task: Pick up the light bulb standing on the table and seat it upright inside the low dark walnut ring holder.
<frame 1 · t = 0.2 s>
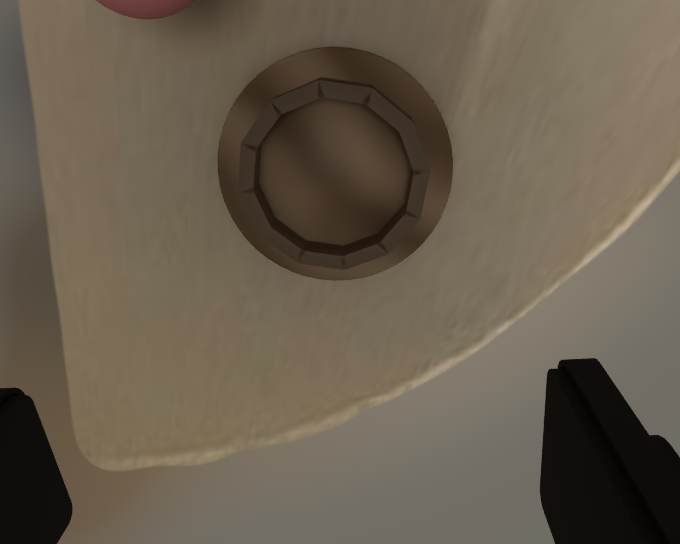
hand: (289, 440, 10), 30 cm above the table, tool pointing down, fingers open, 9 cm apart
holder: (335, 170, 39), on the table
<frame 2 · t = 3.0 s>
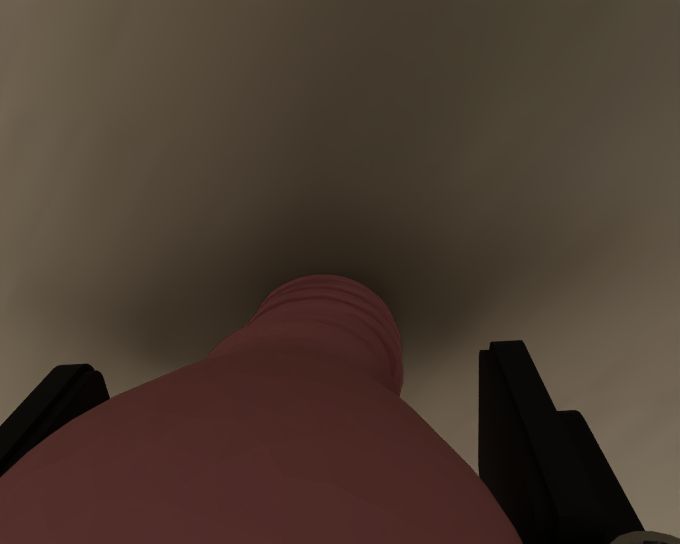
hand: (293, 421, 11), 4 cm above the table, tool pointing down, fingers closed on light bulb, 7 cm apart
light bulb: (314, 318, 14), on the table, touching gripper
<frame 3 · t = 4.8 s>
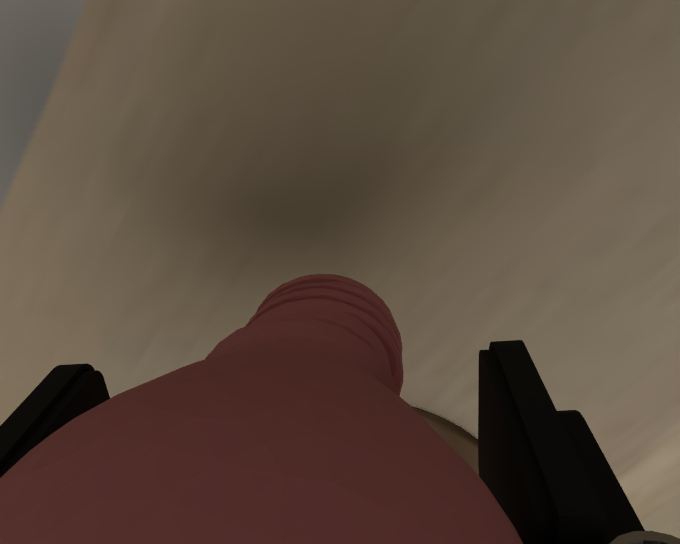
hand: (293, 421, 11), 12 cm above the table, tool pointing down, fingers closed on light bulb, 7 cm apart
light bulb: (314, 318, 14), point 8 cm above the table, touching gripper
holder: (359, 532, 28), on the table
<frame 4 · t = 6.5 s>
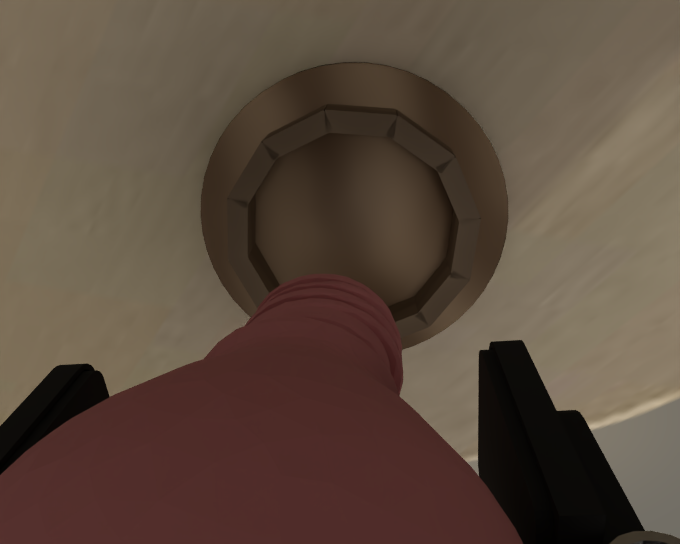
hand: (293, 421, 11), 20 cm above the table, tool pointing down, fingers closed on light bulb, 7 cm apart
light bulb: (314, 318, 14), point 16 cm above the table, touching gripper
holder: (352, 220, 30), on the table
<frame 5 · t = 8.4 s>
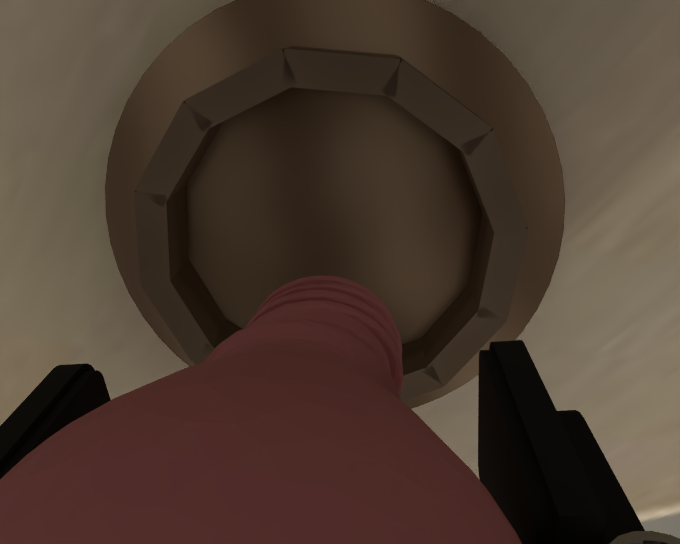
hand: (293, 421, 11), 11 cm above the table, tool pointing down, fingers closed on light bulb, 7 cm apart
light bulb: (314, 319, 14), point 7 cm above the table, touching gripper
holder: (332, 226, 21), on the table
when the fingers open (6 cm above the table, at t = 9.9 s): light bulb drops 1 cm, resting on holder.
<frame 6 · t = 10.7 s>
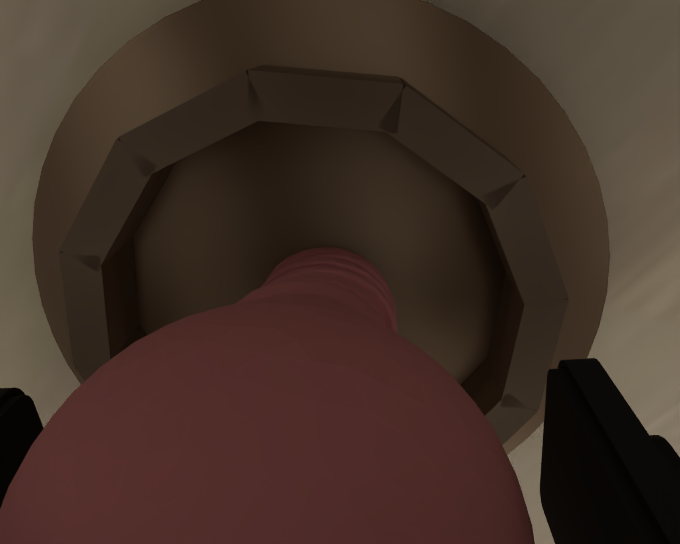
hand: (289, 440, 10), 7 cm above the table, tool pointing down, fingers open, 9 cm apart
light bulb: (316, 289, 16), point 1 cm above the table, touching holder
holder: (318, 284, 17), on the table
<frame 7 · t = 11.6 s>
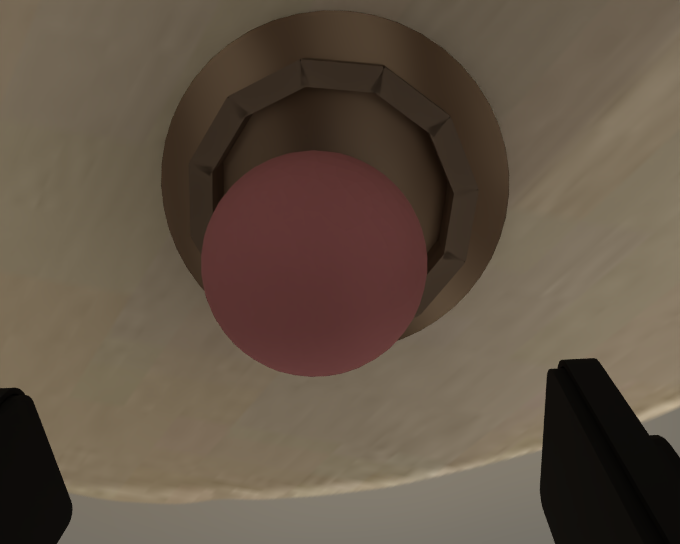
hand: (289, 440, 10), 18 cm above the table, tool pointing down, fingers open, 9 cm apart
light bulb: (333, 195, 26), point 1 cm above the table, touching holder
holder: (334, 195, 27), on the table
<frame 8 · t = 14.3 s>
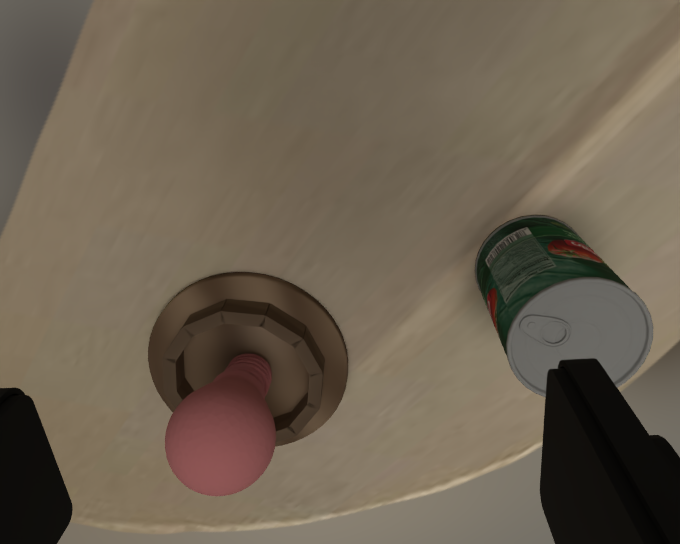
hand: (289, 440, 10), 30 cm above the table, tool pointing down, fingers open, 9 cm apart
light bulb: (248, 365, 45), point 1 cm above the table, touching holder
canned tomato: (528, 264, 41), on the table
holder: (249, 361, 45), on the table
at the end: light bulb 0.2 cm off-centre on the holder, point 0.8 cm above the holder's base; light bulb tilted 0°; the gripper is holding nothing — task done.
